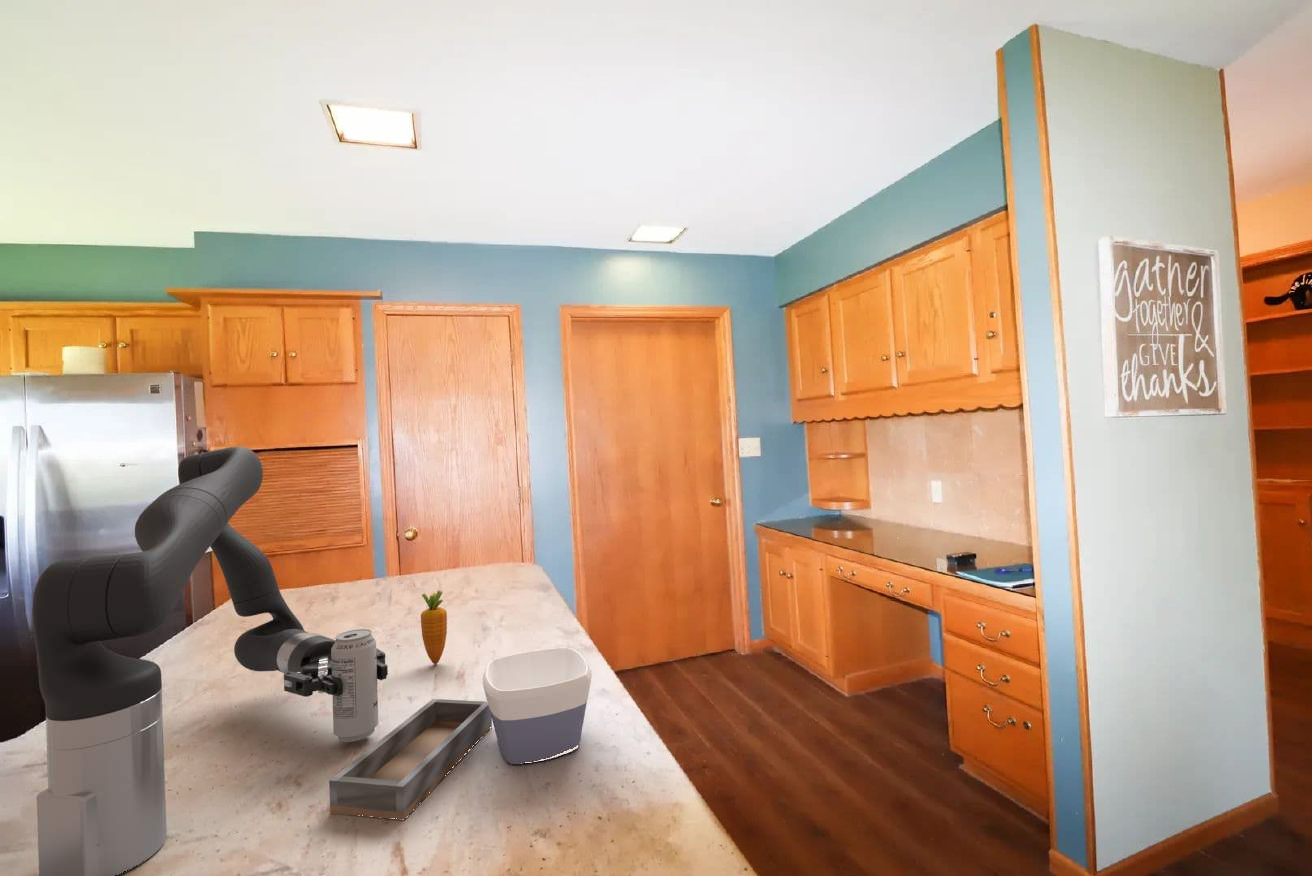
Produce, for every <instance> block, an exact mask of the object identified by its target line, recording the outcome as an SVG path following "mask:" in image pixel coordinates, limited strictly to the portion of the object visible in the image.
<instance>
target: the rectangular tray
mask: <svg viewBox="0 0 1312 876" xmlns="http://www.w3.org/2000/svg"><path fill="white" fill-rule="evenodd" d="M490 727H492V728H493V721H492V717H491V713H490V709H489V706H488V703H487V701H485V700H484V701H479V700H461V699H460V700H459V699H445V698H444V699H443V698H442V699H441V698H440V699H439V698H432V699H431V700H429V701H427V702H426V704H424V705H423V706H422V707H421V708H419V709H418V710H416V712H414V713H413V714H411V715H410V716H409V717H408V718H406V719H405V720H404V721H403V722H401V723H400V724H398V726H396V727H395V728H394V729H393V730H391V731H390V732H388V733H387V734H386V735H385V736H384V737H383V738H381V739H380V740H378V741H377V742H376V743H375V744H374V745H372V746H370V748H369V749H368V750H366V751H365V752H364V753H362V754H361V755H360V756H358V757H357V758H356V759H354V761H352V762H351V763H350V764H348V765H347V766H345V768H344V769H341V770H340V772H338V773H336V775H334V776H333V777H331V779H329V781H328V783H329V809H330V810H329V812H330V814H332V815H339V816H340V815H342V816H350V815H360V816H359V817H361V816H362V815H363V816H373V817H381V818H380V819H382V818H395V819H396V818H397V819H405V818H406V817H407V816H408V815H409V814H410V813H411V812H412V811H413V809H415V807H416V806H417V805H419V803H420V802H421V801H422V800H423V799H424V798H425V797H426V796H427V795H428V794H429V792H431V791H432V789H434V788H435V787H436V785H438V786H439V784H440V783H441V782H442V781H443V780H444V779H445V778H446V777H445V775H447V773H448V772H449V771H450V770H451V769H452V767H453V766H455V765H456V763H457V762H458V761H459V760H460V759H461V758H462V757H463V756H464V754H465V753H467V752H468V750H469V749H471V748H472V746H473V745H475V743H476V742H477V741H478V740H479V739H480V738H481V737H482V736H484V734H485V733H486V732H487V731H488V730H489V729H490ZM490 730H491V729H490ZM490 730H489V731H490ZM489 731H488V732H489ZM488 732H487V733H488ZM487 733H486V734H487ZM486 734H485V735H486ZM484 737H485V736H484ZM475 746H476V745H475ZM472 749H473V748H472ZM472 749H471V750H472ZM456 766H457V765H456ZM456 766H455V767H456ZM447 776H448V775H447ZM444 777H445V778H444ZM443 778H444V779H443ZM442 779H443V780H442ZM441 780H442V781H441ZM440 781H441V782H440ZM439 782H440V783H439ZM438 783H439V784H438ZM436 788H437V787H436ZM436 788H435V789H436ZM435 789H434V790H435ZM432 792H433V791H432ZM432 792H431V793H432ZM429 795H430V794H429ZM429 795H428V796H429ZM428 796H427V797H428ZM427 797H426V798H427ZM426 798H425V799H426ZM425 799H424V800H425ZM424 800H423V801H424ZM419 806H420V805H419ZM415 810H416V809H415ZM413 812H414V811H413ZM413 812H412V813H413ZM412 813H411V814H412ZM411 814H410V815H411ZM410 815H409V816H410ZM409 816H408V817H409ZM408 817H407V818H408Z"/></svg>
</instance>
